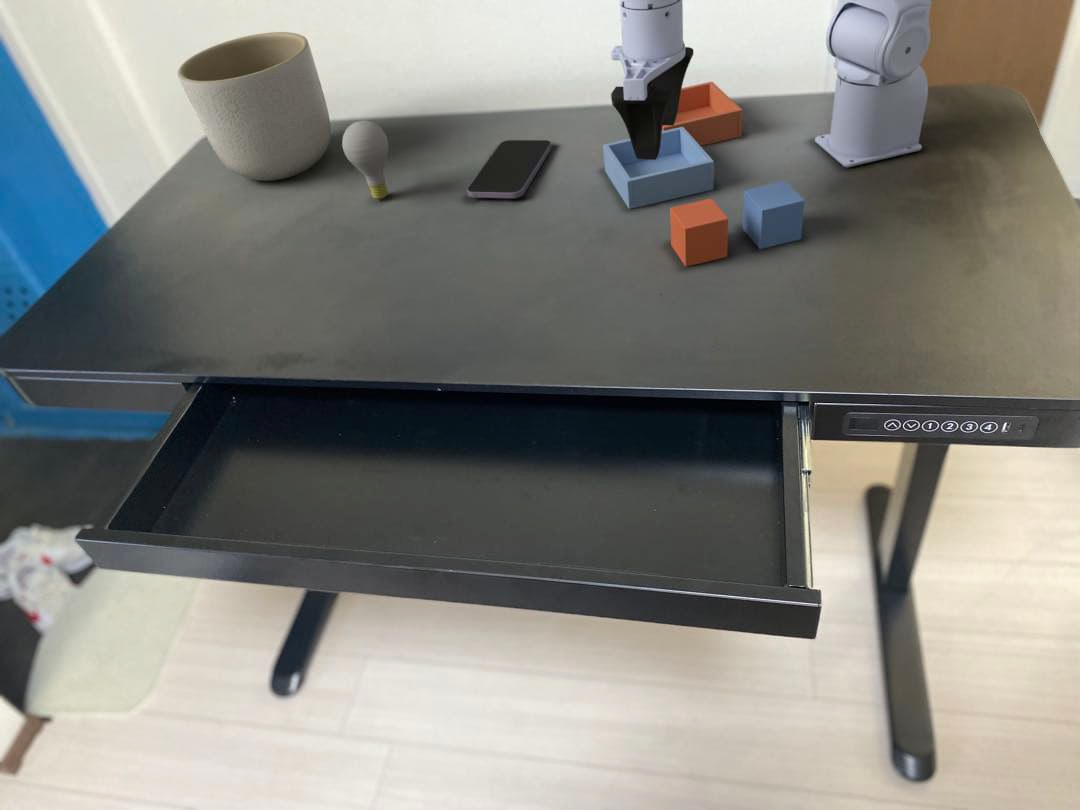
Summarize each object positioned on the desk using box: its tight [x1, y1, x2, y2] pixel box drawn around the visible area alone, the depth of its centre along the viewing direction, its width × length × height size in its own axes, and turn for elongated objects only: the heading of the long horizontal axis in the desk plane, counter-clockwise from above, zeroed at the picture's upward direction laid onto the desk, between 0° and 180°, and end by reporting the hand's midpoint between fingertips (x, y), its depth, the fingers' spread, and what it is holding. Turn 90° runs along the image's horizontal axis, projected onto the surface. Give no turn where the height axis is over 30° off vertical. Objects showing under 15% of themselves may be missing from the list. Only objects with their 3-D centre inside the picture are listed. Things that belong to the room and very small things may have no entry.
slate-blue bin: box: [602, 127, 715, 210], centre depth 94 cm, size 10×10×4 cm
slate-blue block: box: [742, 180, 806, 250], centre depth 82 cm, size 4×4×4 cm
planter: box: [177, 31, 332, 182], centre depth 108 cm, size 17×17×15 cm
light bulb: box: [341, 120, 389, 201], centre depth 98 cm, size 6×6×10 cm
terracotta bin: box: [662, 81, 743, 147], centre depth 102 cm, size 10×10×4 cm
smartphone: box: [466, 139, 553, 199], centre depth 101 cm, size 7×1×15 cm
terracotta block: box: [669, 197, 729, 268], centre depth 81 cm, size 4×4×4 cm
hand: (656, 140), depth 82 cm, fingers open, 7 cm apart
